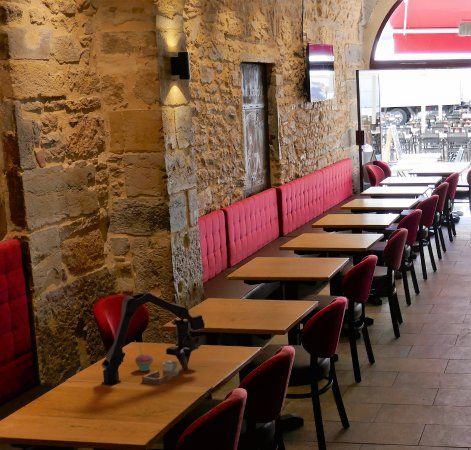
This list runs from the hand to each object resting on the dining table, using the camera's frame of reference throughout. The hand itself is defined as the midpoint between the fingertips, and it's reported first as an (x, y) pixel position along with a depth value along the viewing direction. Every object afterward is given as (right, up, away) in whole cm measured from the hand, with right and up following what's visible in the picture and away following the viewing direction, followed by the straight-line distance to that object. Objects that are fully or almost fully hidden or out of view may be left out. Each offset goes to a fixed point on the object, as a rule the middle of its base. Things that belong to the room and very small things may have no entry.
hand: (184, 364), depth 407 cm
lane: (-11, -5, -14) cm, 19 cm away
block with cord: (-3, -3, -4) cm, 6 cm away
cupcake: (-19, -3, +3) cm, 20 cm away
